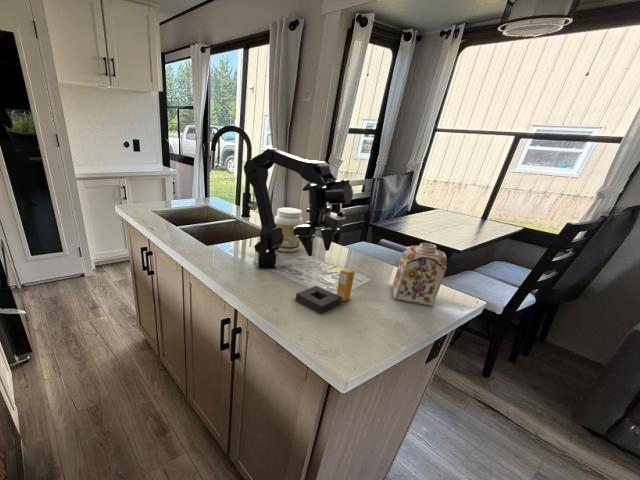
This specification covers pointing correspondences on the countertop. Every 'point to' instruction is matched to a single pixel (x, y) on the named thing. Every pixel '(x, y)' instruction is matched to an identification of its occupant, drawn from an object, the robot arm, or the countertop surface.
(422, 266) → the decorative jar
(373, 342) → the countertop surface
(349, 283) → the supplement box
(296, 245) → the supplement tub
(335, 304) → the socket pad
